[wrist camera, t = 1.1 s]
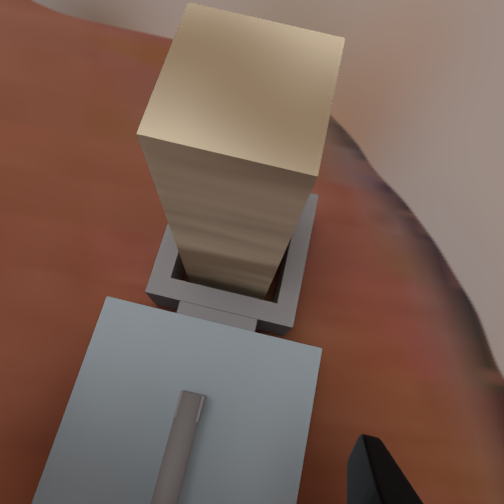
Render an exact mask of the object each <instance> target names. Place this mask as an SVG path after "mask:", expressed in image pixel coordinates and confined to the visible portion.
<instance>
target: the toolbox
mask: <svg viewBox="0 0 504 504" xmlns="http://www.w3.org/2000/svg"><path fill="white" fill-rule="evenodd" d="M318 196H319V195H317V194H313V193H310V195H309V198H308V200H307V202H306V204H305V207H304V209H303V211H302V214H301V216H300V218H299V220H298V223H297V225H296V227H295V230H294V232H293V234H292V236H291V239H290V241H289V243H288V246H287V248H286V250H285V253H284V255H283V258H282V263H281V267H280V272H279V277H278V281H277V286H276V291H275V295H274V300H273V302H269V301H265V300H260V299H256V298H252V297H248V296H244V295H240V294H236V293H231V292H227V291H223V290H219V289H215V288H211V287H207V286H202V285H198V284H194V283H190V282H186V281H182V279H183V276H184V273H185V268H184V265H183V262H182V260H181V257H180V254H179V251H178V248H177V246H176V243H175V240H174V237H173V234H172V232H171V229H170V226H169V223H168V224H167V227H166V230H165V233H164V236H163V239H162V242H161V245H160V248H159V251H158V254H157V257H156V260H155V263H154V267H153V270H152V273H151V276H150V279H149V282H148V285H147V288H146V291H145V292H146V293H147V295H148V296H149V297H150V298H151V299H152V300H153V301H154V303H155V304H156V305H158V306H162V307H166V308H170V309H174V310H177V313H174V312H170V311H166V310H162V309H157V308H153V307H149V306H145V305H141V304H137V303H133V302H129V301H124V300H120V299H116V298H112V297H108V296H107V297H106V300H105V303H104V305H103V308H102V311H101V314H100V316H99V319H98V322H97V325H96V327H95V330H94V333H93V336H92V338H91V341H90V344H89V347H88V349H87V352H86V355H85V358H84V360H83V363H82V366H81V369H80V371H79V374H78V377H77V380H76V383H75V385H74V388H73V391H72V394H71V396H70V399H69V402H68V405H67V407H66V410H65V413H64V416H63V418H62V421H61V424H60V427H59V429H58V432H57V435H56V438H55V440H54V443H53V446H52V449H51V451H50V454H49V457H48V460H47V462H46V465H45V468H44V471H43V473H42V476H41V479H40V482H39V484H38V487H37V490H36V493H35V495H34V498H33V501H32V504H296V503H297V497H298V491H299V485H300V479H301V473H302V467H303V461H304V455H305V449H306V443H307V437H308V431H309V425H310V419H311V413H312V407H313V401H314V395H315V389H316V383H317V377H318V371H319V365H320V359H321V353H322V348H318V347H314V346H310V345H306V344H302V343H297V342H293V341H289V340H285V339H281V338H277V337H273V336H269V335H265V334H260V333H256V332H255V329H257V330H261V331H265V332H269V333H273V334H277V335H281V336H284V335H285V334H286V333H287V332H288V331H290V330H291V329H292V328H293V324H294V319H295V314H296V309H297V304H298V298H299V293H300V288H301V283H302V278H303V273H304V268H305V263H306V257H307V252H308V247H309V242H310V237H311V232H312V227H313V221H314V216H315V211H316V206H317V201H318Z"/></svg>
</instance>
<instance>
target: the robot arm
mask: <svg viewBox="0 0 504 504" xmlns="http://www.w3.org/2000/svg"><path fill="white" fill-rule="evenodd" d="M347 504H423V503H422V501H421V500H420V498H419V497H418V495H417V494H416V492H415V490H414V489H413V487H412V486H411V484H410V483H409V481H408V480H407V478H406V477H405V475H404V474H403V472H402V471H401V469H400V468H399V466H398V465H397V463H396V462H395V460H394V459H393V457H392V456H391V454H390V453H389V451H388V450H387V448H386V447H385V445H384V444H383V442H382V441H381V440H380V439H379V438H377V437H373V436H369V435H365V434H362V435H360V436H359V438H358V440H357V442H356V444H355V446H354V448H353V450H352V452H351V454H350V456H349V460H348V466H347Z"/></svg>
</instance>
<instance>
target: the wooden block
mask: <svg viewBox="0 0 504 504" xmlns="http://www.w3.org/2000/svg"><path fill="white" fill-rule="evenodd" d="M344 42H345V38H343V37H338V36H334V35H329V34H325V33H321V32H316V31H312V30H307V29H303V28H299V27H294V26H290V25H286V24H281V23H277V22H273V21H268V20H264V19H260V18H255V17H251V16H247V15H242V14H238V13H234V12H229V11H225V10H220V9H216V8H212V7H207V6H203V5H199V4H194V3H190V2H188V4H187V6H186V9H185V11H184V14H183V17H182V19H181V22H180V24H179V27H178V29H177V32H176V34H175V37H174V39H173V42H172V45H171V47H170V50H169V52H168V55H167V57H166V60H165V62H164V65H163V67H162V70H161V73H160V75H159V78H158V80H157V83H156V85H155V88H154V90H153V93H152V95H151V98H150V100H149V103H148V106H147V108H146V111H145V113H144V116H143V118H142V121H141V123H140V126H139V128H138V131H137V137H138V140H139V142H140V145H141V148H142V151H143V154H144V156H145V159H146V162H147V165H148V168H149V170H150V173H151V176H152V179H153V181H154V184H155V187H156V190H157V193H158V195H159V198H160V201H161V204H162V207H163V209H164V212H165V215H166V218H167V221H168V223H169V226H170V229H171V232H172V234H173V237H174V240H175V243H176V246H177V248H178V251H179V254H180V257H181V260H182V262H183V265H184V268H185V271H186V274H187V276H188V279H189V282H190V283H194V284H198V285H202V286H207V287H211V288H215V289H219V290H223V291H227V292H231V293H236V294H240V295H244V296H248V297H252V298H256V299H260V300H264V298H265V296H266V294H267V291H268V289H269V287H270V285H271V282H272V280H273V278H274V275H275V273H276V271H277V269H278V266H279V264H280V262H281V259H282V257H283V255H284V253H285V250H286V248H287V246H288V243H289V241H290V239H291V236H292V234H293V232H294V230H295V227H296V225H297V223H298V220H299V218H300V216H301V214H302V211H303V209H304V207H305V204H306V202H307V200H308V198H309V195H310V193H311V191H312V188H313V186H314V184H315V181H316V179H317V177H318V172H319V167H320V162H321V157H322V152H323V147H324V142H325V137H326V132H327V127H328V122H329V117H330V112H331V107H332V102H333V97H334V92H335V87H336V82H337V77H338V72H339V67H340V62H341V57H342V52H343V47H344Z"/></svg>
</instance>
